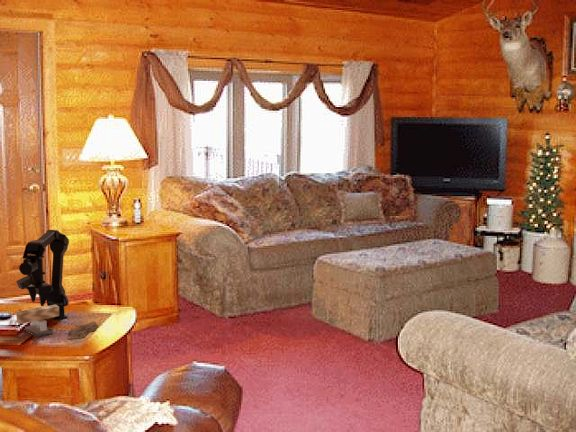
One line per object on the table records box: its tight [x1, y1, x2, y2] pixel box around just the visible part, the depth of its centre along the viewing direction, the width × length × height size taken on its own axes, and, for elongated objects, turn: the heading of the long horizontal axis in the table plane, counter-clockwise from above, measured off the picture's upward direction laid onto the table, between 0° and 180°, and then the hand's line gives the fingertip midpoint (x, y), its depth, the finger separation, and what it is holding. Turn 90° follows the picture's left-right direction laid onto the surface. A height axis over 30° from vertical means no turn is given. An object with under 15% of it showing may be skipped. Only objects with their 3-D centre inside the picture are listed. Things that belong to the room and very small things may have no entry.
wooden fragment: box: [67, 321, 100, 340], centre depth 324 cm, size 26×11×1 cm, turn 168°
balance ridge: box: [24, 319, 54, 338], centre depth 321 cm, size 12×8×6 cm, turn 43°
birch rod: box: [16, 305, 59, 325], centre depth 320 cm, size 18×4×4 cm, turn 133°
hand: (37, 303), depth 319 cm, fingers open, 9 cm apart
